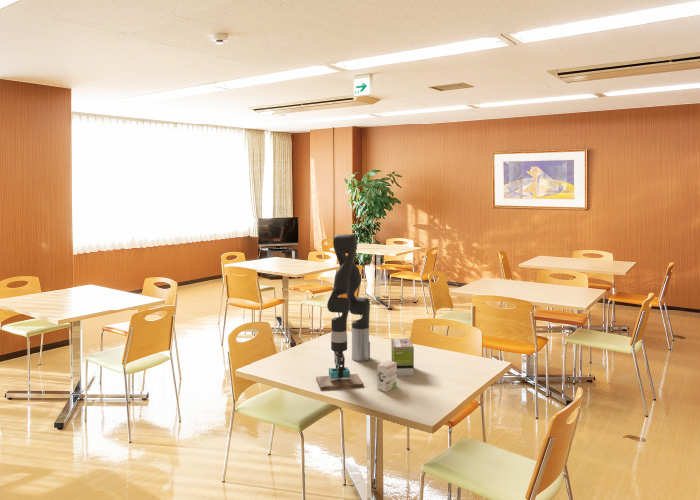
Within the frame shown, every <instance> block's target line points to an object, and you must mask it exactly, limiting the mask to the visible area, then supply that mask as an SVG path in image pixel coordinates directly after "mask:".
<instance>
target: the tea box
mask: <svg viewBox="0 0 700 500" xmlns="http://www.w3.org/2000/svg"><path fill="white" fill-rule="evenodd" d="M390 345H391V348H390V349H391V361H393V362H396V363H397V376H399V377H401V375H404V376H414V373H415V369H414V365H415V363H414V361H415V359H414V358H415V357H414V355H415V353H414V352H415V350H414V349H415V348H414V345H413V343H412V341H411V338H391V344H390Z"/></svg>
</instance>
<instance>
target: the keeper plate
mask: <svg viewBox="0 0 700 500" xmlns="http://www.w3.org/2000/svg"><path fill="white" fill-rule="evenodd" d="M337 371H338V367H337ZM315 381H316V383H317V385H318V387H319V389H320V391H324V390H325V391H326V390H327V391H328V390H340V389H352V388H353V389H354V388H362V387H363V388H364V384H365V383H364V382H363V381H362V379H361V377H360V376H359V375H358V373H350V378H337V379H331V378H330V376H329V375H324V376H323V375H322V376H316V377H315Z"/></svg>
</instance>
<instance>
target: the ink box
mask: <svg viewBox="0 0 700 500" xmlns="http://www.w3.org/2000/svg"><path fill="white" fill-rule="evenodd" d="M376 367H377V369H376V370H377V371H376V373H377V374H376V376H377V378H376V382H377V385H376V386H377V387H376V389H377V390H379V391H382V392H388V391H390V390H392V389H395V388H397V378H398V377H397V363H396V362H393V361H392V360H386V361H384V362H381V363H378V364H377V365H376Z"/></svg>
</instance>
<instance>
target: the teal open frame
mask: <svg viewBox="0 0 700 500" xmlns="http://www.w3.org/2000/svg"><path fill="white" fill-rule="evenodd" d="M350 374H351V371H350V369H349V368H348V367H347V366H344V369H343V377H341V378H350ZM328 376H330V378H331V379H337V378H339V377H338V371H337V368H336V367H331V368H328Z"/></svg>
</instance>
